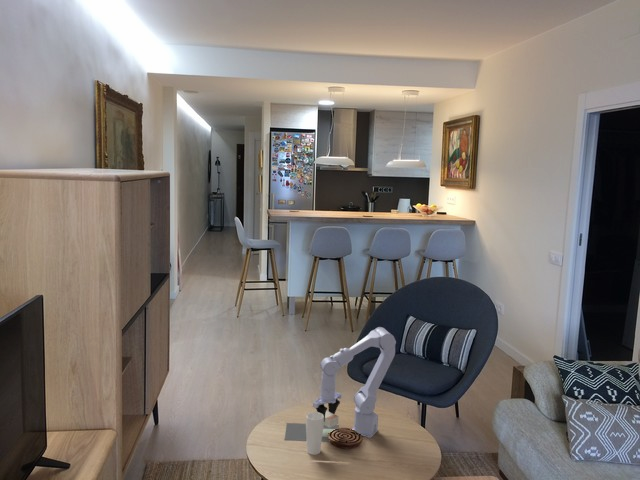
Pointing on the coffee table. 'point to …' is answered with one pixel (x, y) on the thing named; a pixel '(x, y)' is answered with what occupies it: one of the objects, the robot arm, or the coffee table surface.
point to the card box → (330, 419)
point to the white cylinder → (314, 432)
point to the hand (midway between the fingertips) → (326, 419)
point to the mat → (304, 432)
